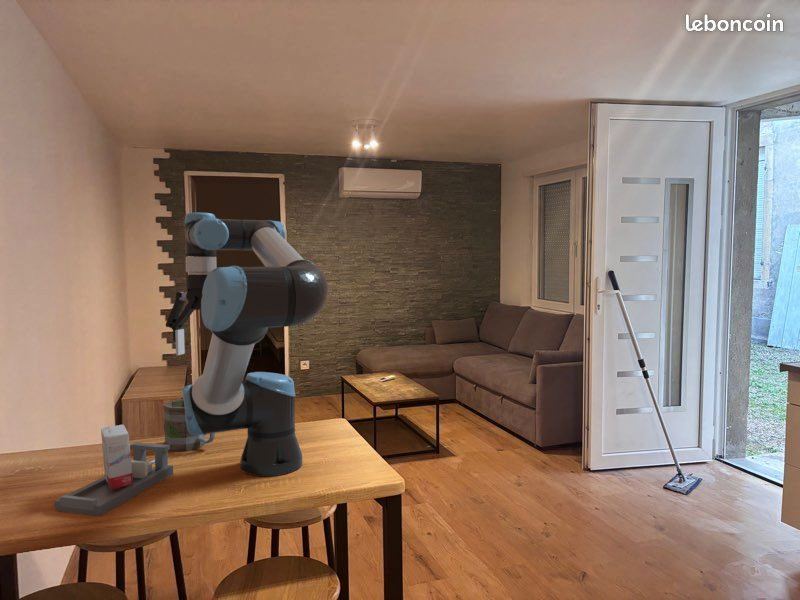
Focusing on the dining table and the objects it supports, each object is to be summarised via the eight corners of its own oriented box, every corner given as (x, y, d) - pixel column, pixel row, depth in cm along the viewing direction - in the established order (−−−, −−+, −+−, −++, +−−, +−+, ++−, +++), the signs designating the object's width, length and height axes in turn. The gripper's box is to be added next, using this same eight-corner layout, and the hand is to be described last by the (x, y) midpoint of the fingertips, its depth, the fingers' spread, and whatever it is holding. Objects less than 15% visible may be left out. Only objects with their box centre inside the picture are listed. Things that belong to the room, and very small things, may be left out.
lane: (173, 473, 141) (172, 445, 140) (99, 516, 118) (98, 482, 117) (134, 469, 144) (133, 441, 143) (54, 510, 120) (53, 477, 120)
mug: (155, 449, 159) (154, 405, 158) (184, 438, 169) (183, 397, 168) (200, 456, 153) (199, 411, 152) (228, 444, 163) (227, 402, 162)
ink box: (133, 485, 128) (130, 433, 127) (108, 491, 126) (104, 437, 124) (127, 472, 136) (124, 423, 134) (103, 477, 133) (100, 427, 132)
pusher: (177, 461, 146) (176, 446, 145) (145, 478, 134) (144, 463, 134) (153, 459, 147) (153, 444, 147) (119, 476, 136) (119, 460, 136)
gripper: (252, 273, 151) (254, 355, 152) (168, 272, 157) (170, 351, 158) (237, 274, 143) (239, 359, 145) (149, 273, 149) (152, 355, 151)
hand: (203, 355), depth 152 cm, fingers open, 13 cm apart
